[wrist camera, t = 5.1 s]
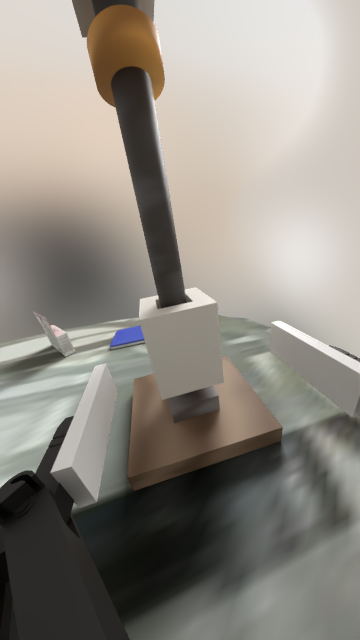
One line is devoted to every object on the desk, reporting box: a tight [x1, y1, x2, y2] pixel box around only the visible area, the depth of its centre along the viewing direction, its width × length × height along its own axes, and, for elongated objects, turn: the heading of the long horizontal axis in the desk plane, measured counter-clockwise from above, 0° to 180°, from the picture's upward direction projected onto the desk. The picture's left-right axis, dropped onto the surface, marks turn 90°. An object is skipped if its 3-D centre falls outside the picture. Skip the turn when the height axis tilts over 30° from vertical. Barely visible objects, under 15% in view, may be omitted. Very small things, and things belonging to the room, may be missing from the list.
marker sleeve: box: [139, 288, 224, 400], centre depth 17 cm, size 6×6×8 cm
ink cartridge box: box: [34, 312, 75, 357], centre depth 41 cm, size 2×11×10 cm, turn 48°
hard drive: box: [110, 326, 145, 349], centre depth 43 cm, size 2×8×12 cm
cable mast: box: [72, 0, 283, 491], centre depth 14 cm, size 14×12×36 cm
